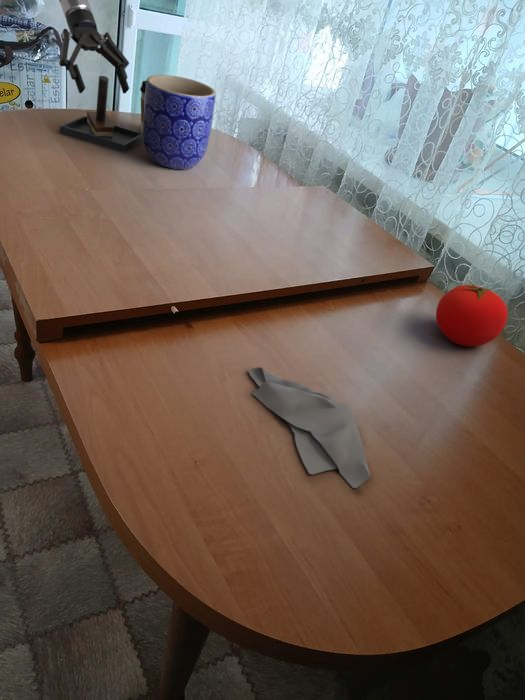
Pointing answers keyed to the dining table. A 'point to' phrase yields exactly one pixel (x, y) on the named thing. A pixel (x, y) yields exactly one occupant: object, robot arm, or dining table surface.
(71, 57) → the robot arm
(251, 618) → the dining table surface
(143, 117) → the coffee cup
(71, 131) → the tray
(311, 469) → the cloth
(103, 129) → the brush
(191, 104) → the planter
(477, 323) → the tomato
